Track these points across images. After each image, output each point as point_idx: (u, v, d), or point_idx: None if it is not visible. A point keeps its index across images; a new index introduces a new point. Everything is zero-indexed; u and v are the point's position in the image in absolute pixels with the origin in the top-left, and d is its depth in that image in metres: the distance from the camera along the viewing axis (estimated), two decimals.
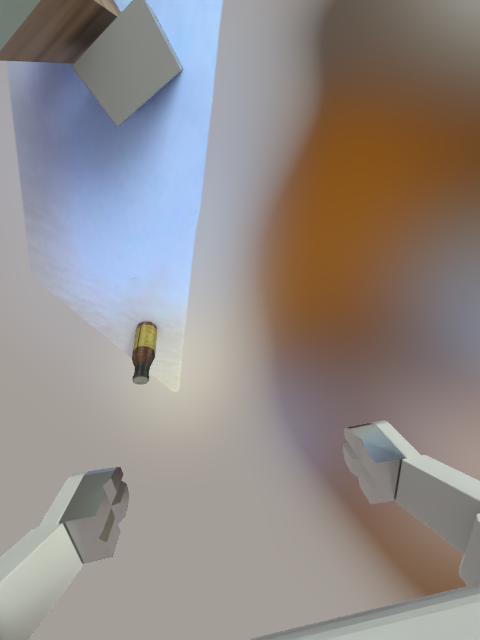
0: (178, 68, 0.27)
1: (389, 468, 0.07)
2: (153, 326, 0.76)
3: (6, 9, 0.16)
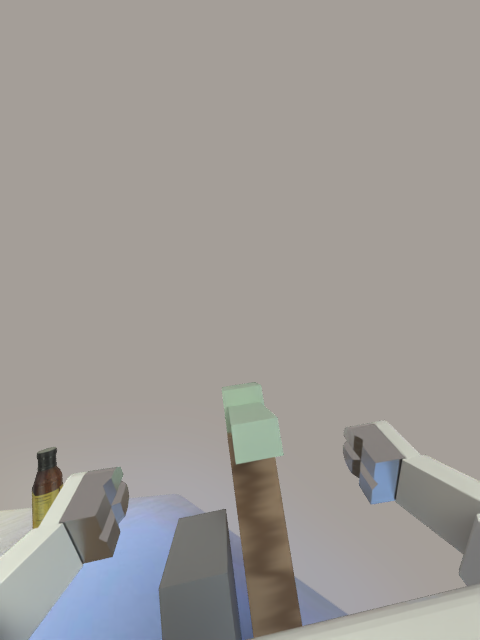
0: (161, 586, 0.21)
1: (389, 468, 0.07)
2: None
3: None
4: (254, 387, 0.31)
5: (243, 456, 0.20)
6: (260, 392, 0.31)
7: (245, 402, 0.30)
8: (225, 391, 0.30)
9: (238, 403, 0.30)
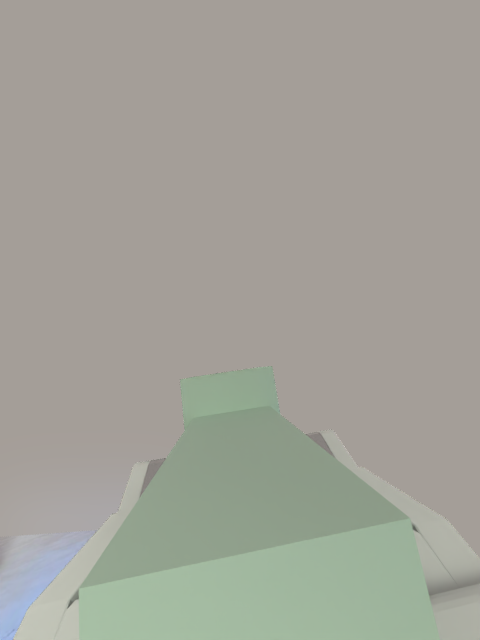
0: None
1: None
2: None
3: None
4: (257, 372, 0.13)
5: None
6: (271, 384, 0.13)
7: (235, 407, 0.13)
8: (188, 380, 0.13)
9: (218, 409, 0.13)
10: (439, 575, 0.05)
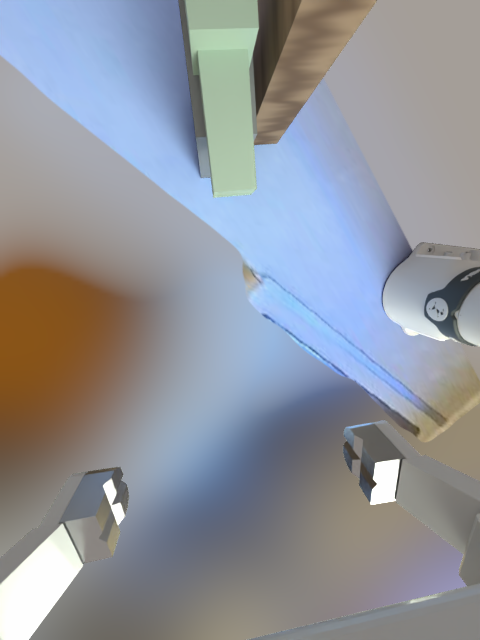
0: (197, 135, 0.23)
1: (389, 468, 0.07)
2: None
3: None
4: (246, 30, 0.18)
5: (220, 196, 0.25)
6: (253, 38, 0.18)
7: (225, 47, 0.19)
8: (195, 30, 0.17)
9: (214, 47, 0.19)
10: None
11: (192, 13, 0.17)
